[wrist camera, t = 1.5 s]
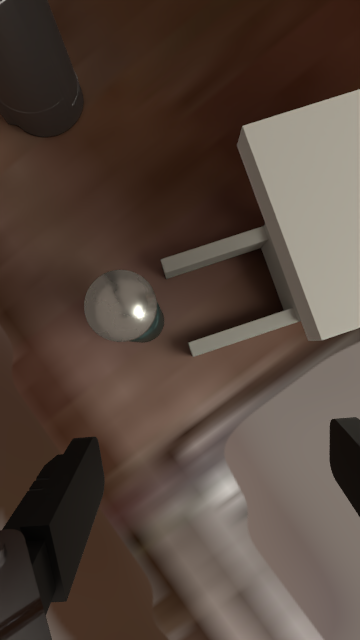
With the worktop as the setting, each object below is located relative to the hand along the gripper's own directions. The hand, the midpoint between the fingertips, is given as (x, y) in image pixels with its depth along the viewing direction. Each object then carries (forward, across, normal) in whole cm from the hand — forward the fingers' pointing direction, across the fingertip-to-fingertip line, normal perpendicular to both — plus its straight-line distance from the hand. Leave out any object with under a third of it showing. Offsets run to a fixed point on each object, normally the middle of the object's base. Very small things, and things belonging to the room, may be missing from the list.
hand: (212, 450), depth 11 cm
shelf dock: (+27, -6, -2) cm, 28 cm away
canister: (+26, +6, +1) cm, 26 cm away
